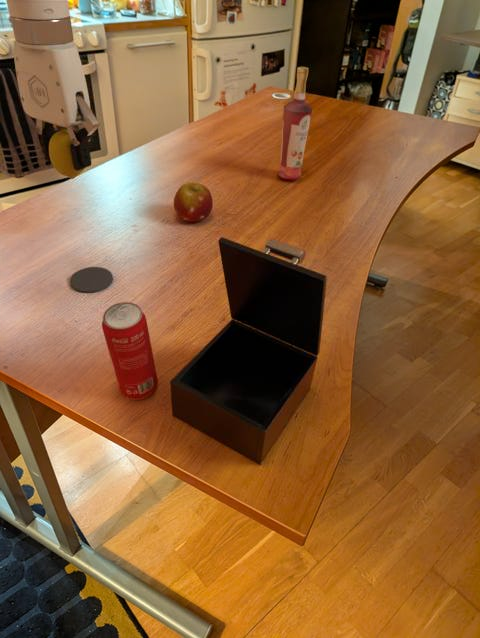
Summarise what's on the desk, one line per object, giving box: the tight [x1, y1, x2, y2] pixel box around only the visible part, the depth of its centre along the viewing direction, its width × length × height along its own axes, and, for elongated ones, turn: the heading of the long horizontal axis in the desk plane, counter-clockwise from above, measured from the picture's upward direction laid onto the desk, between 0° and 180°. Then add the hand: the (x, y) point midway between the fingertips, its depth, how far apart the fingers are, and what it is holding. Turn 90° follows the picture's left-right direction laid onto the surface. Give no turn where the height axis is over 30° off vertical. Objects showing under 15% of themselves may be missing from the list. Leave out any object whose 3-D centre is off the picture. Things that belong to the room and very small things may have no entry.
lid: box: [217, 236, 328, 357], centre depth 63 cm, size 16×15×5 cm
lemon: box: [49, 128, 85, 180], centre depth 73 cm, size 6×6×8 cm
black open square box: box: [169, 318, 318, 466], centre depth 66 cm, size 16×15×7 cm
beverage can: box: [101, 301, 158, 401], centre depth 65 cm, size 6×6×15 cm
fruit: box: [173, 181, 214, 223], centre depth 107 cm, size 10×9×8 cm
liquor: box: [277, 66, 313, 182], centre depth 121 cm, size 7×7×28 cm
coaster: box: [69, 266, 114, 294], centre depth 89 cm, size 8×8×1 cm
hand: (68, 161), depth 74 cm, fingers closed on lemon, 5 cm apart
